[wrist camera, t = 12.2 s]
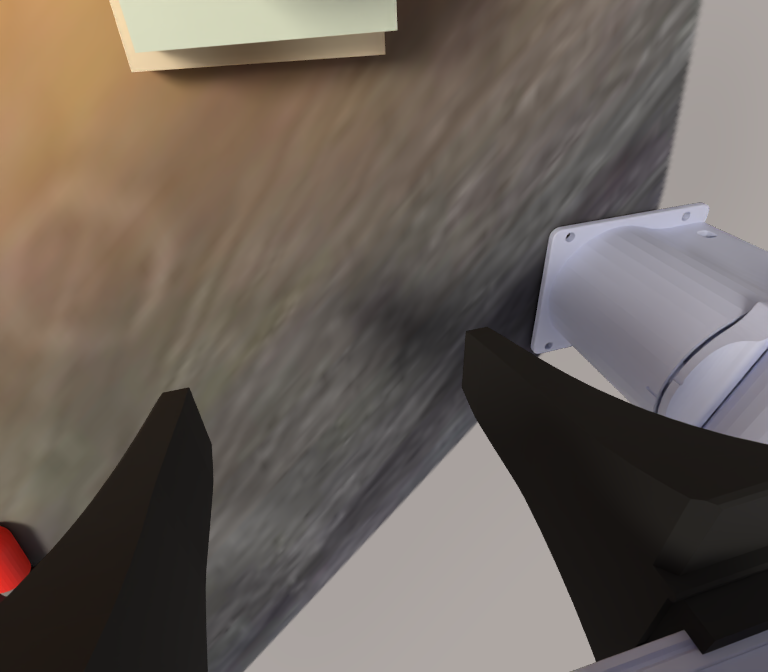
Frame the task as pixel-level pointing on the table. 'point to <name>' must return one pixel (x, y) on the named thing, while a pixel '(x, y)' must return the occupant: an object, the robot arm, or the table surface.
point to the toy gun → (11, 563)
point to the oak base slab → (249, 50)
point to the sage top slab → (249, 21)
